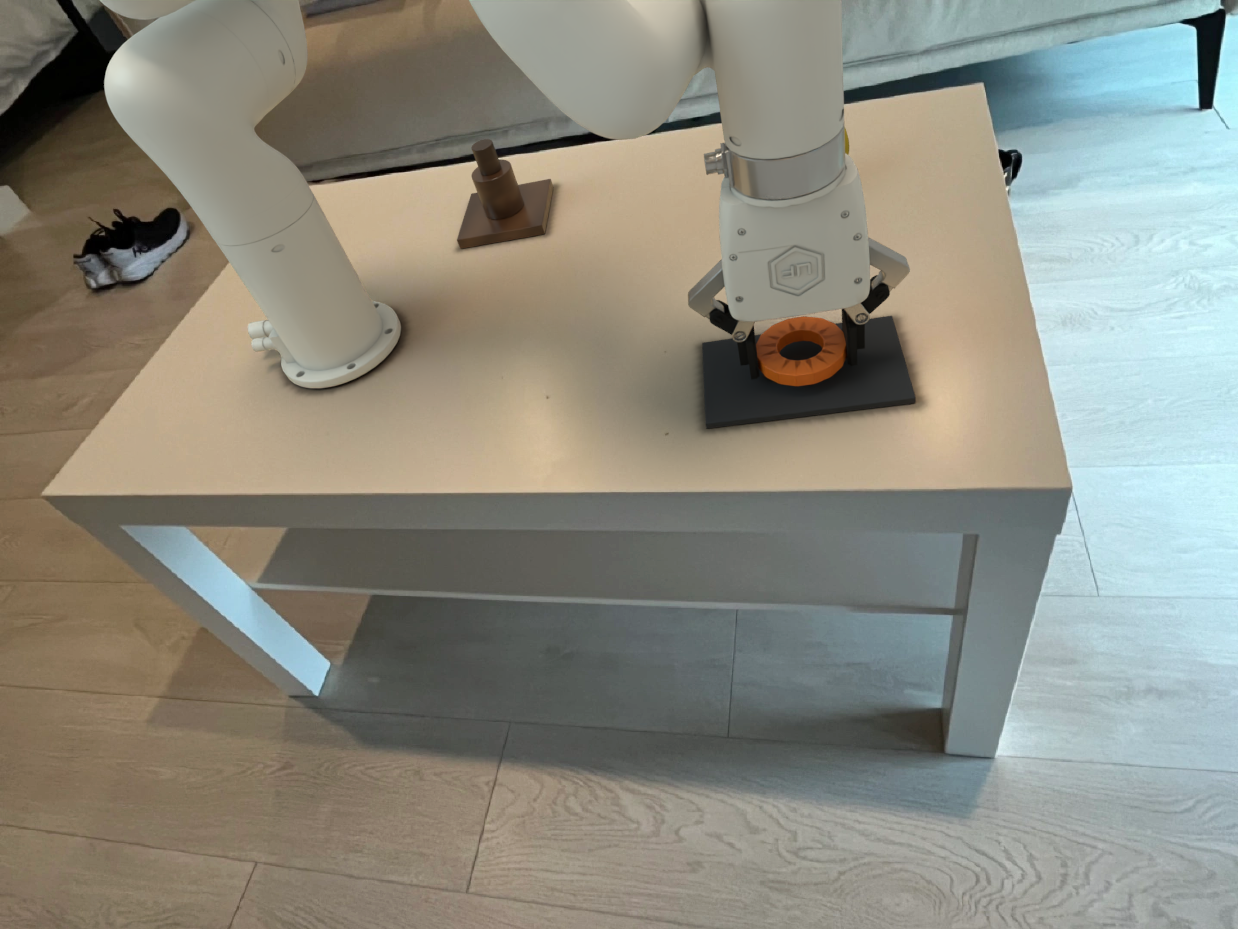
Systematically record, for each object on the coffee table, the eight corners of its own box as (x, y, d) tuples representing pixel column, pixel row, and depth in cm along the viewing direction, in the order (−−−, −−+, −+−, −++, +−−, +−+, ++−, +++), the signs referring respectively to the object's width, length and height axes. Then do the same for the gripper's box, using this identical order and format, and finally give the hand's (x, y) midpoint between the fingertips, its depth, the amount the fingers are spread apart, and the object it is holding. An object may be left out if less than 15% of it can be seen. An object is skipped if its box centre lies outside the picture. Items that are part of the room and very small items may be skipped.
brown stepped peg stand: (460, 249, 92) (429, 176, 86) (474, 202, 99) (447, 131, 92) (544, 234, 90) (520, 158, 84) (553, 187, 97) (531, 114, 90)
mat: (706, 429, 65) (705, 423, 65) (703, 347, 72) (702, 342, 71) (915, 403, 62) (915, 397, 62) (891, 320, 69) (892, 315, 68)
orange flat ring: (760, 391, 64) (758, 380, 63) (754, 334, 69) (752, 323, 68) (852, 379, 63) (852, 367, 62) (839, 322, 67) (839, 310, 66)
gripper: (653, 210, 52) (695, 407, 65) (937, 159, 49) (923, 377, 62) (654, 153, 57) (694, 346, 70) (913, 103, 54) (904, 315, 67)
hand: (801, 359), depth 66 cm, fingers closed on orange flat ring, 7 cm apart
